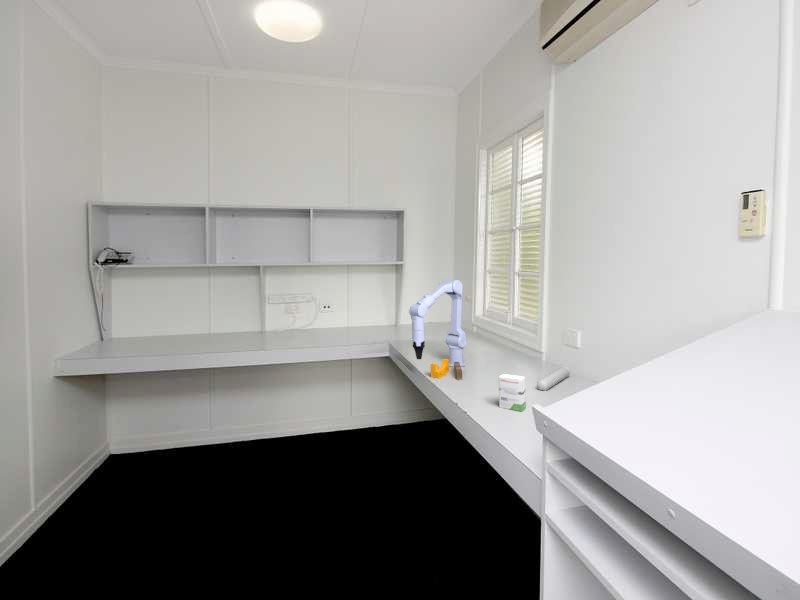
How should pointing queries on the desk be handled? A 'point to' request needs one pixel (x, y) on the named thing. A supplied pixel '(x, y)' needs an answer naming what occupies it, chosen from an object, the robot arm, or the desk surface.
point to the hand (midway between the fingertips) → (419, 357)
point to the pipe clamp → (440, 369)
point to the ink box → (512, 392)
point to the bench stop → (458, 370)
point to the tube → (553, 378)
